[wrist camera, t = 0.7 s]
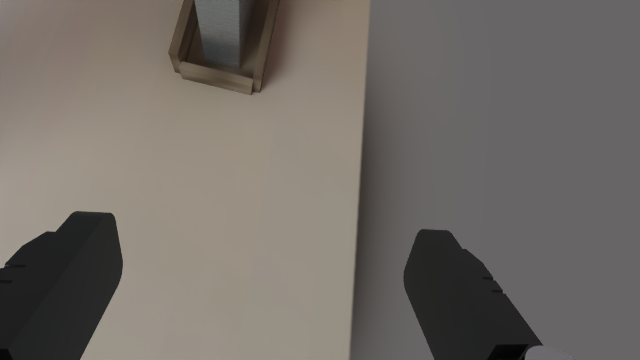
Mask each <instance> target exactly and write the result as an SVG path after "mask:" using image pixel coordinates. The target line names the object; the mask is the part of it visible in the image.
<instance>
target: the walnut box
mask: <svg viewBox="0 0 640 360" xmlns="http://www.w3.org/2000/svg"><path fill="white" fill-rule="evenodd" d="M278 5H279V0H256V1H255V5H254V10H253V14H252V18H251V22H250V27H249V31H248V35H247V39H246V44H245V48H244V52H243V56H242V61H241V65H240V69H235V68H231V67H227V66H223V65H219V64H215V63H211V62H207V61H205V55H204V50H203V44H202V39H201V33H200V28H199V22H198V17H197V11H196V6H195V0H184V2H183V5H182V8H181V12H180V15H179V19H178V22H177V25H176V29H175V32H174V35H173V39H172V42H171V46H170V49H169V52H168V53H169V56H170V59H171V61H172V64H173V67H174V70H175V72H177V73H181V76H182V78H183V79H187V80H191V81H195V82H199V83H203V84H207V85H212V86H216V87H220V88H224V89H228V90H232V91H236V92H240V93H245V94H249V95H251V93H252V91H255V92H259V93H260V89H261V84H262V79H263V75H264V70H265V65H266V61H267V56H268V51H269V47H270V42H271V38H272V33H273V28H274V24H275V19H276V14H277V10H278Z"/></svg>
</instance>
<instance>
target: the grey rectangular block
mask: <svg viewBox="0 0 640 360" xmlns="http://www.w3.org/2000/svg"><path fill="white" fill-rule="evenodd" d="M255 1H256V0H195V6H196V11H197V17H198V22H199V28H200V33H201V39H202V44H203V50H204V55H205V61H207V62H211V63H215V64H219V65H223V66H227V67H231V68H235V69H240V65H241V61H242V56H243V52H244V48H245V44H246V39H247V35H248V31H249V27H250V22H251V18H252V14H253V10H254V5H255Z"/></svg>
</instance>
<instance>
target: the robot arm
mask: <svg viewBox="0 0 640 360" xmlns="http://www.w3.org/2000/svg"><path fill="white" fill-rule="evenodd" d="M122 268H123V260H122V254H121V248H120V243H119V237H118V231H117V226H116V221H115V217H114V215H113V214H112V213H102V212H82V211H76V212H73V213H72V214H71V215H70V216H69V217H68V218H67V219H66V221H65V222H64V223H63V224H62V225H61V226H60V227H59V229H58V230H57V231H56V232H45V233H43V234H42V235H40V236H38V237H37V238H35V239H33V240H32V241H30V242H28V243H27V244H25V245H23V246H22V247H21V248H20V249H19V250H18V251H17V252H16V253H15V254H14V255H13V256H12V257H11V258H10V259H9V260H8V261H7V262H6V264H5V267H4V268H1V269H0V360H80V358H81V356H82V354H83V353H84V351H85V349H86V347H87V345H88V343H89V341H90V339H91V337H92V335H93V333H94V331H95V329H96V327H97V325H98V323H99V321H100V320H101V318H102V316H103V314H104V312H105V310H106V308H107V306H108V304H109V302H110V300H111V298H112V296H113V294H114V292H115V290H116V288H117V287H118V284H119V282H120V279H121V275H122ZM404 287H405V290H406V293H407V295H408V298H409V300H410V302H411V305H412V307H413V309H414V312H415V314H416V317H417V319H418V321H419V324H420V326H421V329H422V331H423V333H424V336H425V338H426V340H427V343H428V345H429V348H430V350H431V352H432V355H433V357H434V359H435V360H575V359H573V358H572V357H570V356H569V355H567V354H565V353H563V352H562V351H559V350H557V349H554V348H551V347H547V346H543V344H542V343H541V342H540V340H539V339H538V338H537V336H536V335H535V334H534V332H533V331H532V330H531V328H530V327H529V325H528V324H527V323H526V321H525V320H524V319H523V317H522V316H521V315H520V313H519V312H518V310H517V309H516V308H515V307H514V305H513V304H512V303H511V301H510V300H509V298H508V297H507V296H506V294H503V292H502V291H503V290H502V289H501V288H500V286H499V285H498V283H497V282H496V281H494V280H493V277H492V275H491V274H490V273H489V271H488V270H487V269H486V267H485V266H484V264H483V263H482V262H481V261H480V260H479V259H477V258H476V257H475V256H474V255H472V254H471V253H470V252H469V251H468V250H466V249H462V248H461V246H460V245H459V243H458V242H457V240H456V239H455V238H454V236H453V235H452V233H450V232H449V231H447V230H429V229H422V230H420V231H419V232H418V234H417V236H416V239H415V242H414V244H413V247H412V250H411V253H410V255H409V258H408V261H407V264H406V267H405V270H404Z"/></svg>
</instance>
